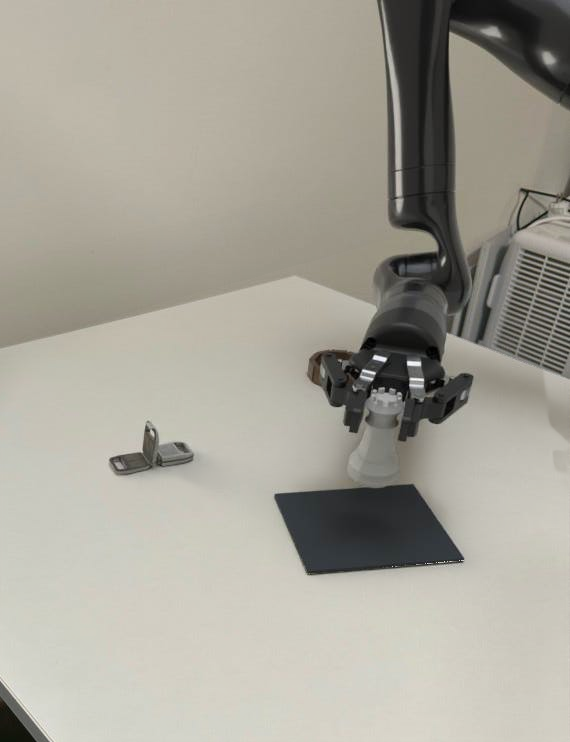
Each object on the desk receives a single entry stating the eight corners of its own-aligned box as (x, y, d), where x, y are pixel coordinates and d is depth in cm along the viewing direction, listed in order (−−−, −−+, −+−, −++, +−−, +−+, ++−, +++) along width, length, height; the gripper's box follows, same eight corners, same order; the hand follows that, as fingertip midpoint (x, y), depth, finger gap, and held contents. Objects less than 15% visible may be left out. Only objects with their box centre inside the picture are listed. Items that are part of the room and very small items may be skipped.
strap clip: (184, 447, 87) (185, 411, 85) (195, 461, 85) (196, 424, 82) (107, 461, 85) (106, 425, 82) (116, 476, 83) (115, 439, 80)
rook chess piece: (377, 496, 70) (393, 413, 65) (335, 475, 73) (348, 393, 68) (407, 477, 73) (425, 395, 68) (366, 457, 75) (380, 377, 70)
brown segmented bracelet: (355, 362, 104) (357, 347, 103) (374, 388, 99) (376, 372, 97) (301, 365, 104) (303, 350, 102) (317, 391, 98) (319, 375, 97)
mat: (412, 487, 81) (413, 483, 81) (463, 562, 72) (464, 558, 72) (274, 496, 80) (274, 493, 80) (307, 574, 70) (308, 571, 70)
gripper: (336, 296, 79) (298, 371, 66) (490, 316, 75) (481, 400, 62) (326, 368, 84) (288, 451, 71) (470, 390, 80) (459, 482, 67)
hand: (379, 426), depth 67 cm, fingers closed on rook chess piece, 3 cm apart
